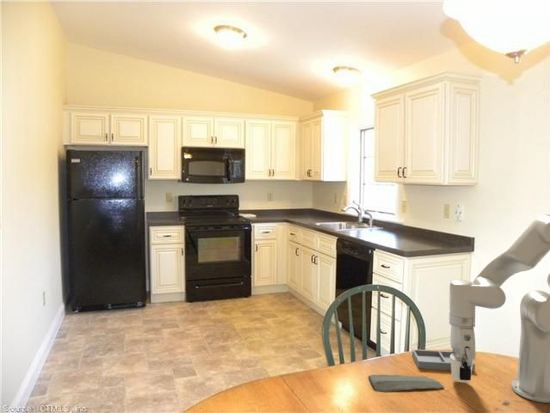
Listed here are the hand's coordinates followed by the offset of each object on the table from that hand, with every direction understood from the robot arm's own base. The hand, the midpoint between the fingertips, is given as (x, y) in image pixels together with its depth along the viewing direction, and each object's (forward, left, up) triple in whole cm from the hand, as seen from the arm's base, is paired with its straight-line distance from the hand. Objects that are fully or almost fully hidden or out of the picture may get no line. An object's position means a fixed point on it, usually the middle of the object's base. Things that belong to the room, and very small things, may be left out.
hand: (461, 373), depth 134 cm
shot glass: (0, 0, -2) cm, 2 cm away
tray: (+2, -13, -3) cm, 14 cm away
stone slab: (+18, +2, -4) cm, 18 cm away
